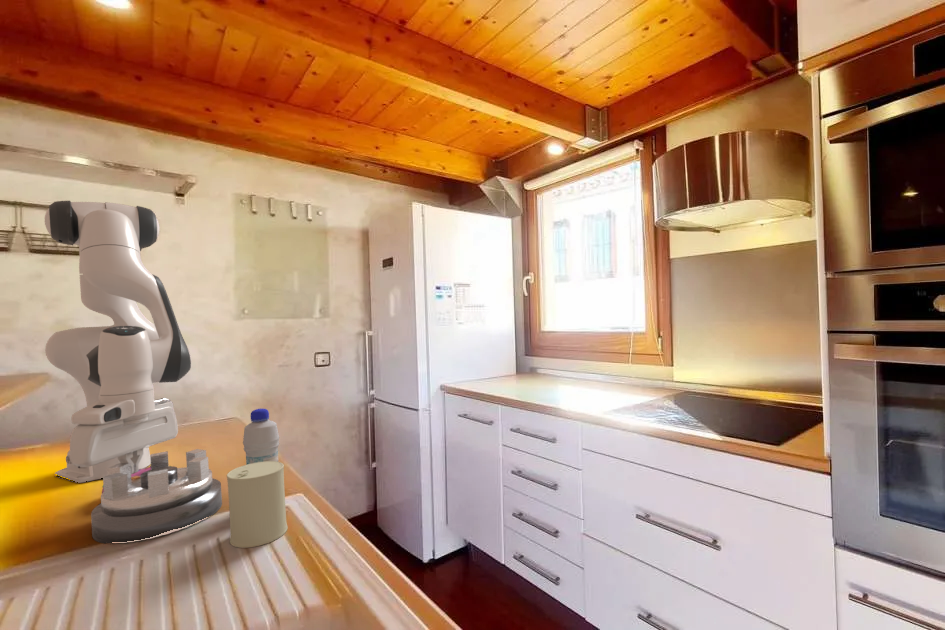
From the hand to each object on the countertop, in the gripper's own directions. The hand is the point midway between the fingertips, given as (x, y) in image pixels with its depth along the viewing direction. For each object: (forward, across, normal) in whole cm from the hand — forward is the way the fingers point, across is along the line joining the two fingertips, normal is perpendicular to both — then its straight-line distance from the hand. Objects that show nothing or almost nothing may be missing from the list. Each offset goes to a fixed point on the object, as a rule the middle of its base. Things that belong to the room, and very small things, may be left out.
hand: (131, 473), depth 91 cm
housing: (+8, +1, +8) cm, 11 cm away
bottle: (+8, -5, +26) cm, 28 cm away
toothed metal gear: (+4, +1, +7) cm, 8 cm away
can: (+8, +6, +33) cm, 35 cm away
